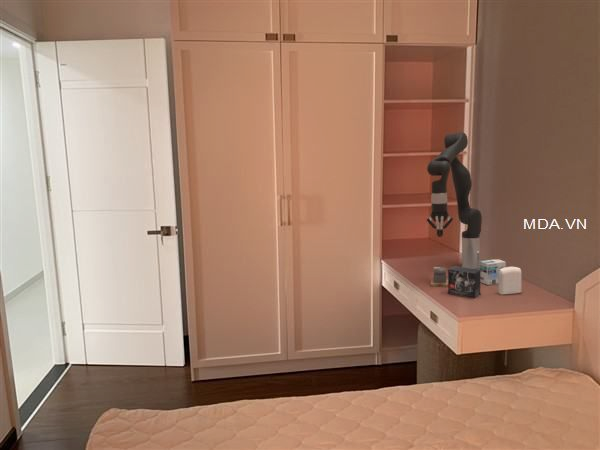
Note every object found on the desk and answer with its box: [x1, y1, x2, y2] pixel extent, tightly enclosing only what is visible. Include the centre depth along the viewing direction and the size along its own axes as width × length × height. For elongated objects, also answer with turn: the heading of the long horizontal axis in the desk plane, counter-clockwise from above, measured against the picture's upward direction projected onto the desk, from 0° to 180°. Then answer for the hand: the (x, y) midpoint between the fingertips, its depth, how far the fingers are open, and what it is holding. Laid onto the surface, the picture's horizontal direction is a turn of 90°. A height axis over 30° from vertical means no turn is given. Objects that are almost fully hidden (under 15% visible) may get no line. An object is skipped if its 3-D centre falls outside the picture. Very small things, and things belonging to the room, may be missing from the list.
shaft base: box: [429, 277, 448, 288], centre depth 241 cm, size 11×11×5 cm
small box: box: [447, 265, 481, 299], centre depth 222 cm, size 13×7×12 cm, turn 47°
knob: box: [433, 266, 447, 283], centre depth 240 cm, size 6×6×7 cm
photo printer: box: [497, 266, 522, 295], centre depth 220 cm, size 10×4×12 cm, turn 96°
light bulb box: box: [479, 258, 507, 286], centre depth 238 cm, size 11×7×11 cm, turn 105°
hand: (439, 236), depth 237 cm, fingers closed
